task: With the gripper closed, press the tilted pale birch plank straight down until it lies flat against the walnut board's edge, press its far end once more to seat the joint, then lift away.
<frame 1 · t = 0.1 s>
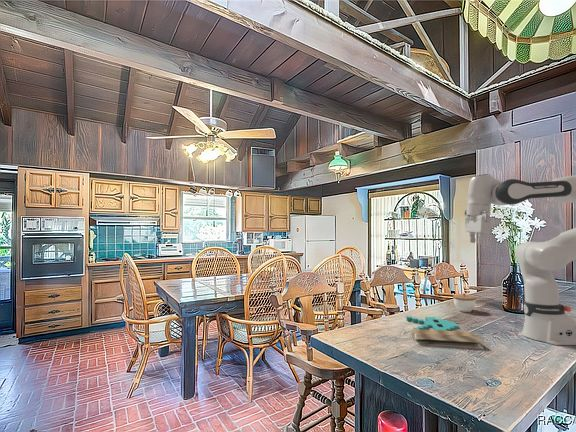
hand: (476, 243, 136), 39 cm above the counter, tool pointing down, fingers open, 8 cm apart
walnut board: (443, 339, 129), resting on underlay mat
alien figure: (433, 328, 145), on the counter
underlay mat: (445, 342, 126), on the counter
birch plank: (446, 338, 123), point 3 cm above the counter, hinge at 22.0°
lidded jar: (465, 310, 170), on the counter
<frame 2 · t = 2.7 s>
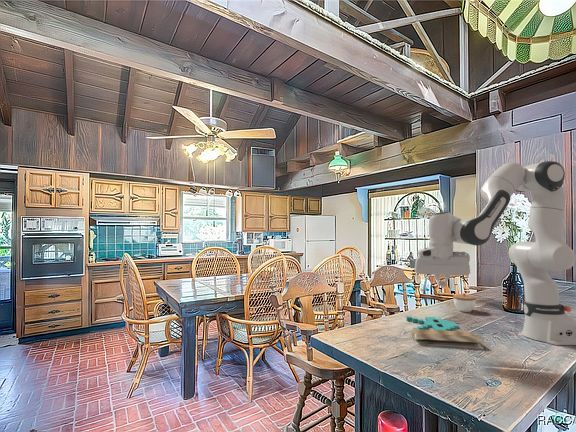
hand: (442, 285, 127), 23 cm above the counter, tool pointing down, fingers closed
nothing on the counter moved.
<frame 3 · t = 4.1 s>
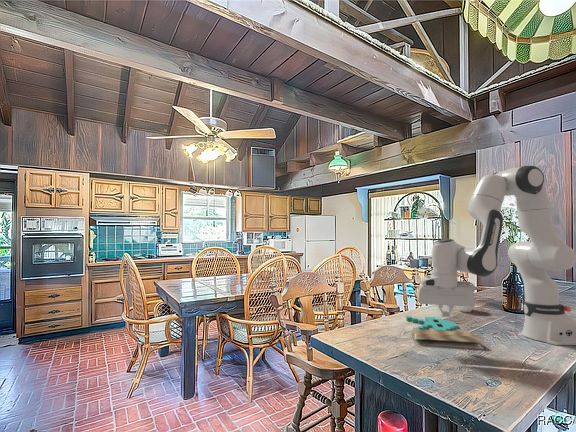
hand: (445, 316, 122), 12 cm above the counter, tool pointing down, fingers closed
nothing on the counter moved.
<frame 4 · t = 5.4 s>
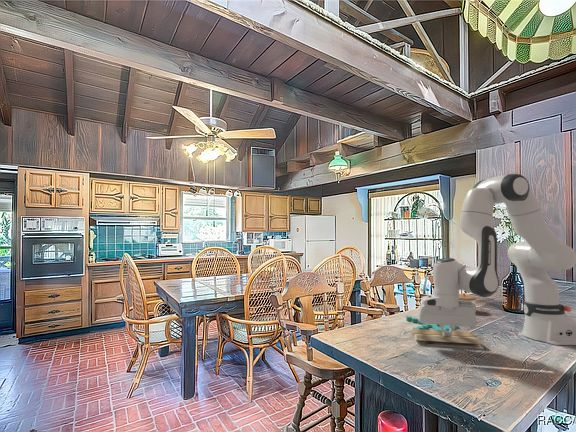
hand: (447, 336, 121), 4 cm above the counter, tool pointing down, fingers closed, pressing on birch plank
birch plank: (446, 338, 123), point 2 cm above the counter, hinge at 16.1°, touching gripper
everything else where it was.
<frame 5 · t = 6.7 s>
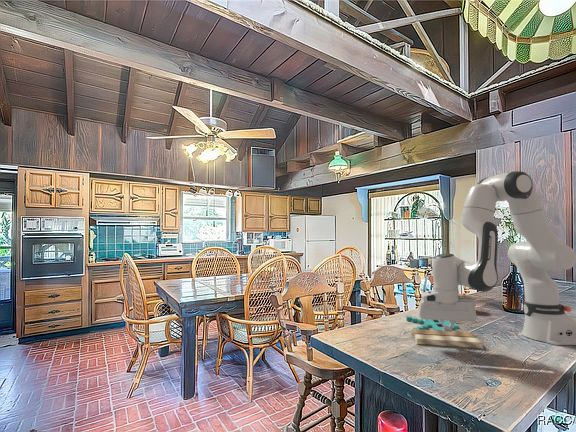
hand: (447, 331, 122), 6 cm above the counter, tool pointing down, fingers closed
birch plank: (447, 340, 122), point 2 cm above the counter, hinge at 2.4°
everything else where it was.
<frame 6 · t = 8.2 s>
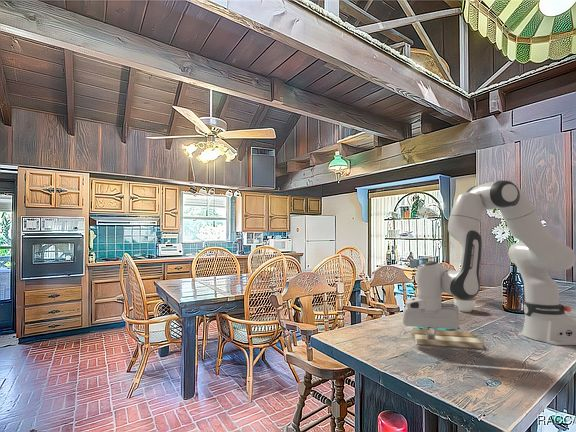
hand: (430, 338, 123), 3 cm above the counter, tool pointing down, fingers closed, pressing on birch plank
birch plank: (447, 340, 122), point 2 cm above the counter, hinge at 1.3°, touching gripper
everything else where it was.
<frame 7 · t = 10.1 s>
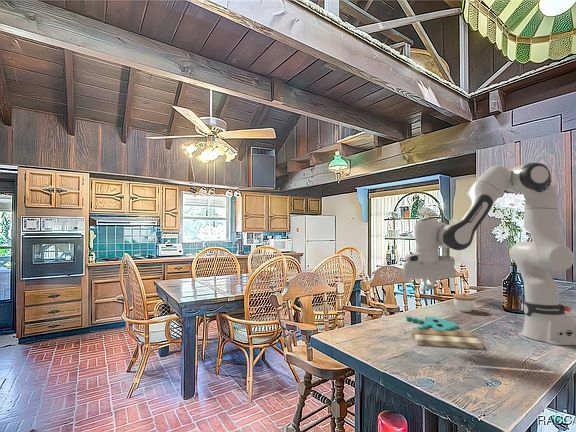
hand: (429, 289, 132), 20 cm above the counter, tool pointing down, fingers closed
birch plank: (447, 341, 122), point 2 cm above the counter, hinge at -0.4°
everything else where it was.
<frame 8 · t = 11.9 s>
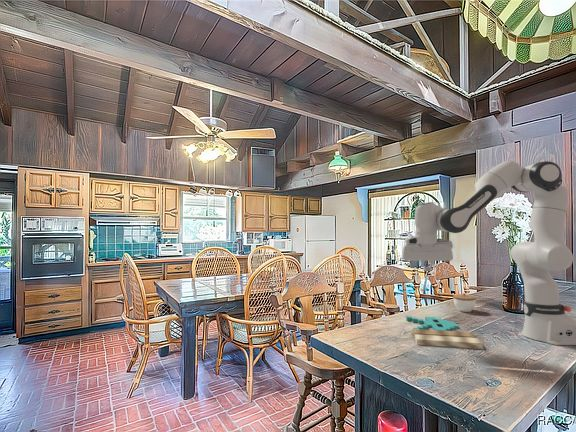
hand: (427, 271, 137), 27 cm above the counter, tool pointing down, fingers closed
nothing on the counter moved.
at the end: birch plank at +0° (first picture: +22°) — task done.
